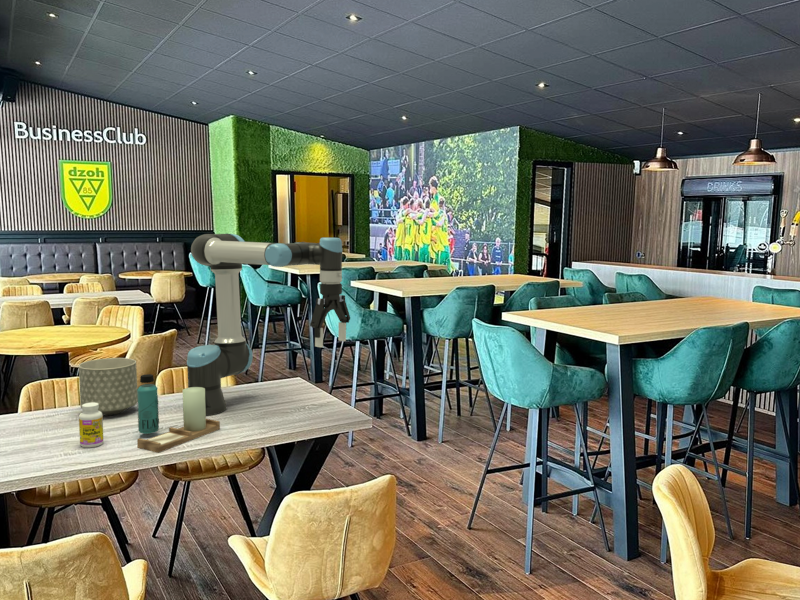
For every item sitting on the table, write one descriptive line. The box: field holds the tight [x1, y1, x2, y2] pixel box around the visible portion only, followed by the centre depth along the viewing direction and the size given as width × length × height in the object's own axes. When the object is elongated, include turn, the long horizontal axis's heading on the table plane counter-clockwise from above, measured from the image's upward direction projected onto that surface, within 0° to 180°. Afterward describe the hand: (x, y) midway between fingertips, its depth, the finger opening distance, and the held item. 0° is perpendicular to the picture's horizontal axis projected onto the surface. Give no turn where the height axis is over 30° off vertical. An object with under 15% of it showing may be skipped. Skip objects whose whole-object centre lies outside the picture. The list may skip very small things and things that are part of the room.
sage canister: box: [182, 387, 207, 432], centre depth 214 cm, size 7×7×13 cm
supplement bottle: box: [78, 402, 104, 448], centre depth 202 cm, size 7×7×13 cm
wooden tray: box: [136, 418, 221, 453], centre depth 209 cm, size 9×26×3 cm, turn 152°
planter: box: [78, 357, 138, 416], centre depth 236 cm, size 19×19×18 cm
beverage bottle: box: [137, 373, 160, 435], centre depth 211 cm, size 6×7×20 cm
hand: (330, 343), depth 226 cm, fingers open, 13 cm apart
